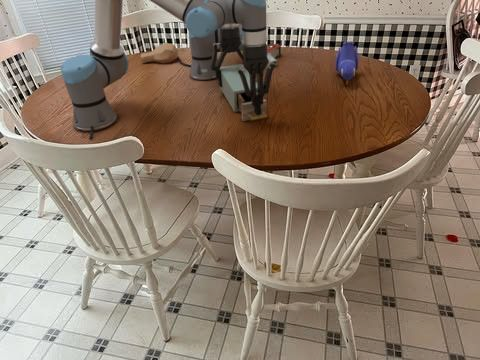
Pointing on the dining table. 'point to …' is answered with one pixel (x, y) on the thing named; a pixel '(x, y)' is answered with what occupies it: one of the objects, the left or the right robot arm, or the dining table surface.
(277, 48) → the tape dispenser
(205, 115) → the dining table surface
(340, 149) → the dining table surface
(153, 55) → the squash
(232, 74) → the cabinet
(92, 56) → the left robot arm
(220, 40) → the right robot arm
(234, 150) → the dining table surface
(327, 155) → the dining table surface
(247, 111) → the drawer
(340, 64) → the toy
